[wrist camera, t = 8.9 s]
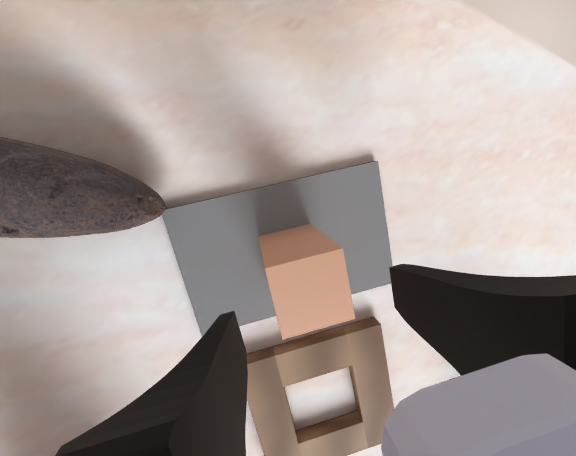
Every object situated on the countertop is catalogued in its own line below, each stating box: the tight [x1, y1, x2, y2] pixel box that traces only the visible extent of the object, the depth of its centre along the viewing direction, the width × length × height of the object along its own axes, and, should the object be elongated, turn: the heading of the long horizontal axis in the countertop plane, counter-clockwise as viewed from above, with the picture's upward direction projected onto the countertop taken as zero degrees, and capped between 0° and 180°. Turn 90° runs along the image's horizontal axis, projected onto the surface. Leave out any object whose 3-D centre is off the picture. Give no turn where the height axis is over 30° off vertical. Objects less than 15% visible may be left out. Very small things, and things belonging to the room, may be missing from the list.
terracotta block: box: [258, 224, 355, 340], centre depth 17 cm, size 4×4×7 cm
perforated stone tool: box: [0, 137, 166, 238], centre depth 14 cm, size 15×5×7 cm, turn 78°
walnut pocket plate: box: [246, 317, 394, 456], centre depth 23 cm, size 12×12×1 cm
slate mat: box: [162, 161, 392, 337], centre depth 21 cm, size 16×10×1 cm, turn 102°
